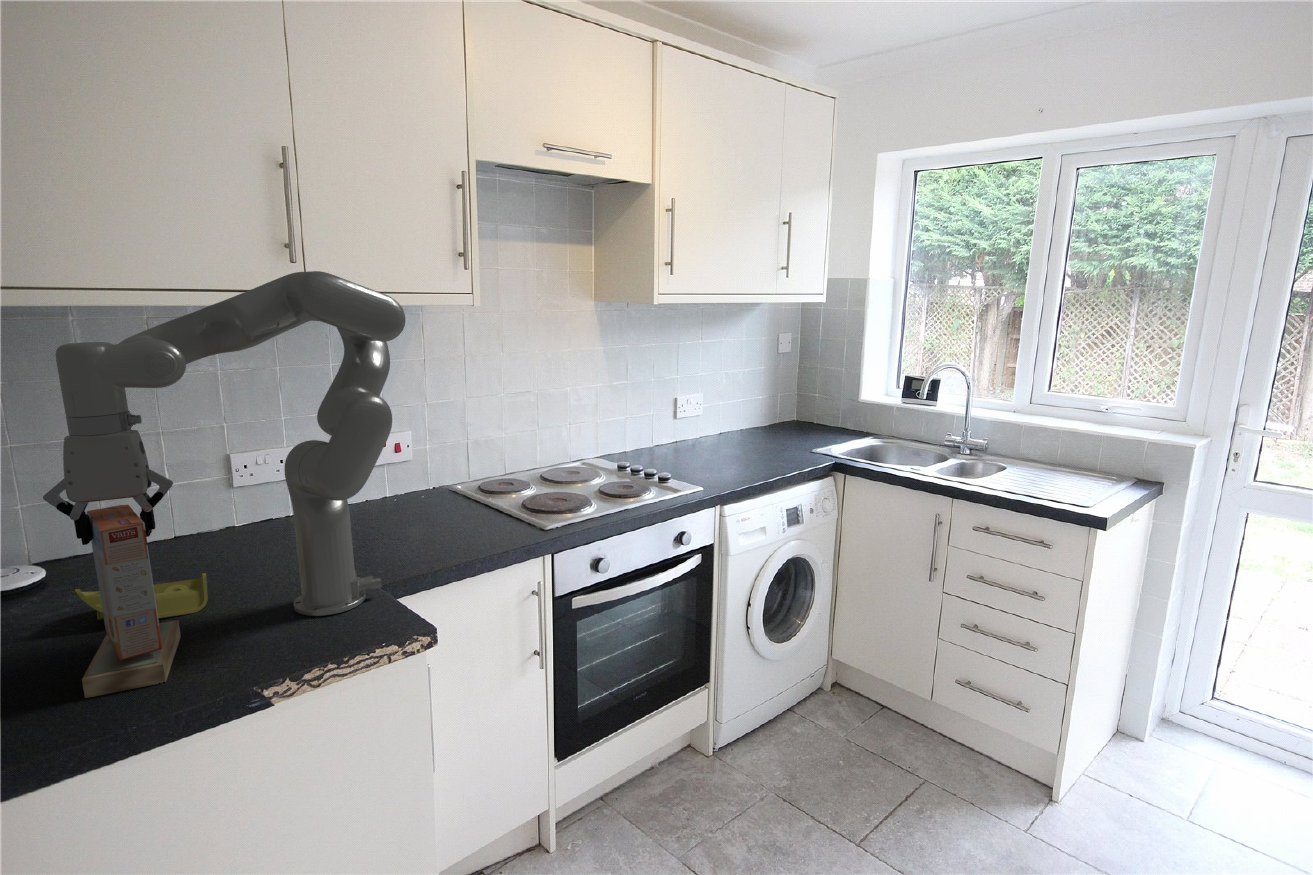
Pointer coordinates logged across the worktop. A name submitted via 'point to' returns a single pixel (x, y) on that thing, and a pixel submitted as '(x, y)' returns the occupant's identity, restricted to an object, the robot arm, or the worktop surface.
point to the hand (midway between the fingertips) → (118, 537)
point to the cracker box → (125, 581)
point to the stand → (131, 665)
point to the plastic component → (165, 597)
